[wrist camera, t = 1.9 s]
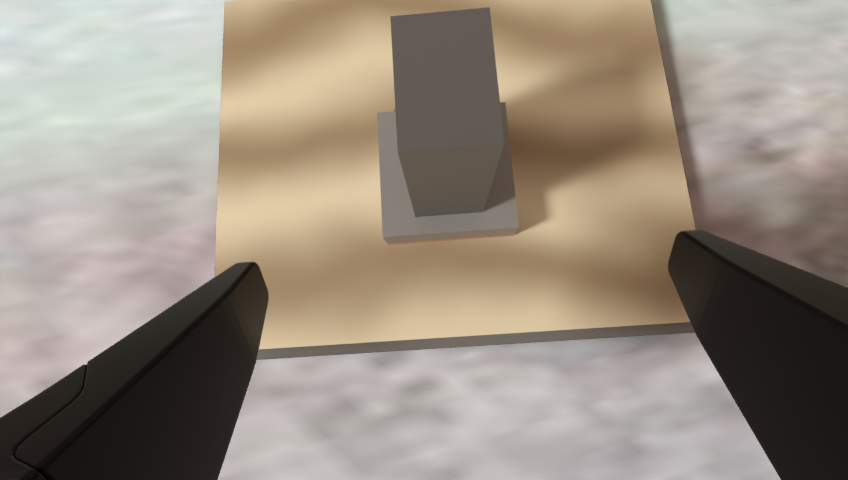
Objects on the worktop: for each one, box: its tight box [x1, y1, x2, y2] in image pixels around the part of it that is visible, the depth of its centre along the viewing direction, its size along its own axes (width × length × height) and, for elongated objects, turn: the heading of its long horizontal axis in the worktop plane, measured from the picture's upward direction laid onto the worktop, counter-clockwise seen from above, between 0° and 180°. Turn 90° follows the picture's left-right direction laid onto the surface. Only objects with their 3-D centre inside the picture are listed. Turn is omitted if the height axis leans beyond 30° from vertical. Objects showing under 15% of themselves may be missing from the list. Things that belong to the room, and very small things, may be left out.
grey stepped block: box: [377, 7, 519, 245], centre depth 17 cm, size 6×6×9 cm
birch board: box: [215, 0, 696, 360], centre depth 22 cm, size 20×24×2 cm
